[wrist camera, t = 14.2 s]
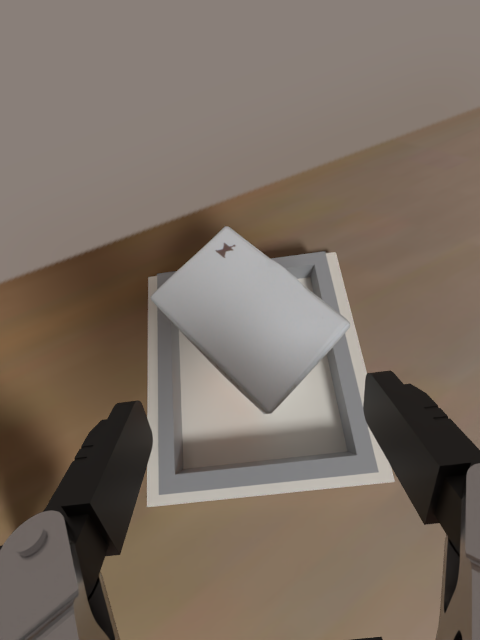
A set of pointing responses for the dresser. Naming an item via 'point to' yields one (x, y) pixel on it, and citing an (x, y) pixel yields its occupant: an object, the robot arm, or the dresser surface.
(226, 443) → the grey rimmed tray
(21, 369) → the dresser surface
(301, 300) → the skincare box
